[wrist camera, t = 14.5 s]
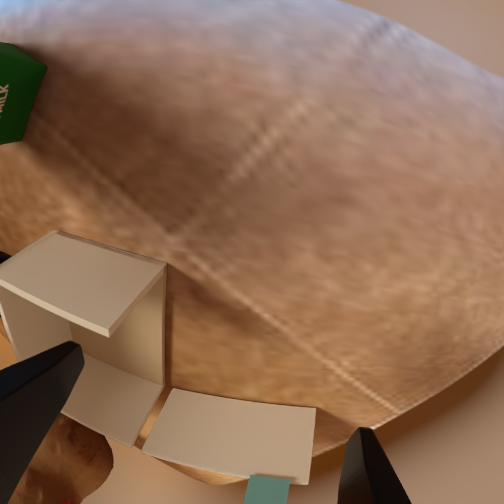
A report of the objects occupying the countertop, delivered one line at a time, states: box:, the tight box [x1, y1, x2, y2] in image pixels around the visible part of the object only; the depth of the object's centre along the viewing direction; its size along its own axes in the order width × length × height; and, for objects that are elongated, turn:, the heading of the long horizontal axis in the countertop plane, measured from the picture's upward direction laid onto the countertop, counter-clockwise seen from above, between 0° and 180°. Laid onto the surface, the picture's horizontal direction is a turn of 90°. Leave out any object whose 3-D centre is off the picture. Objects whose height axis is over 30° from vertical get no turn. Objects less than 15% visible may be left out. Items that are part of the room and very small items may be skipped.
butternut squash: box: [8, 412, 113, 504], centre depth 26 cm, size 14×13×25 cm
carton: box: [0, 230, 167, 448], centre depth 23 cm, size 11×14×8 cm
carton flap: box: [141, 388, 316, 504], centre depth 23 cm, size 1×14×11 cm, turn 91°
